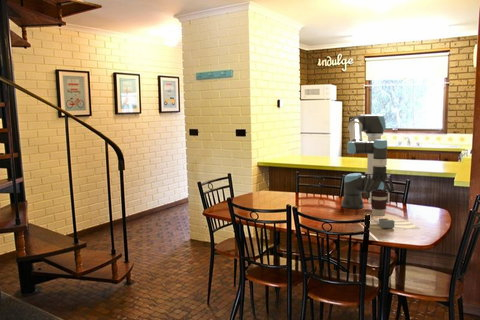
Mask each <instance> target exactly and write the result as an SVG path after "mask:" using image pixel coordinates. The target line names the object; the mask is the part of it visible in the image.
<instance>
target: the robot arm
mask: <svg viewBox="0 0 480 320" xmlns="http://www.w3.org/2000/svg"><path fill="white" fill-rule="evenodd" d="M347 124H348V125H347V129H348V131H349V141H348V142H347V145H346V152H347V153H348V154H351V155H355V154H356V155H357V154H358V155H359V154H364V155H365V154H367V160H366V161H367V166H366V167H367V168H366V171H365V172H364V175H363V174H362V173H360V172H354V173H349V174H346V175H345V176H344V181H343V183H344V184H343V185H344V188H343V189H344V191H343V192H344V194H343V195H344V196H343V198H342V201H341V207H342V208H345V209H351V210H352V209H354V210H357V209H363V208H364V204H365V203H364V200H363V197H362V193H366V198H368V203H369V204H370V205H371V192H372V191H373V190H374V189H382V190H384V186H385V189H386V190H387V191H386V192H387V193H388V196H387V204H390V198H391V197H392V193H393V192H395V187H394V184H393V183H394V182H393V179H392V178H393V177H392V176H393V175H392V174H390V173H389V174H387V160H388V159H387V158H388V140H387V139H382V136H383V135H384V132H386V129H387V128H386V119H385V115H384V114H379V113H378V114H377V113H376V114H357V115H355V116H353V117H352V118H351V119H350V120H349V121H348V123H347ZM362 132H365V135H366V136H367V141H366V140H365V141H363V133H362ZM386 179H387V180H386ZM387 181H388V182H387Z"/></svg>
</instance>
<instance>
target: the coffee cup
mask: <svg viewBox="0 0 480 320" xmlns="http://www.w3.org/2000/svg"><path fill="white" fill-rule="evenodd" d="M387 192H388V191H386V190H385V189H383V190H382V189H374V190H373V191H372V192H371V204H370V205H371V215H372V216H374V217H384V216H386V209H387V204H388V203H387V196H388V193H387Z"/></svg>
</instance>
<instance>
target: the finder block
mask: <svg viewBox="0 0 480 320" xmlns="http://www.w3.org/2000/svg"><path fill="white" fill-rule="evenodd" d="M378 220H379V226H380V227H381V228H383V229H385V228H391V229H390V230H393V229H392V228H394V223H395V221H394V220H395V219H392V218H391V217H388V218H387V217H386V218H379V219H378Z"/></svg>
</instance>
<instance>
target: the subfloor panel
mask: <svg viewBox="0 0 480 320" xmlns="http://www.w3.org/2000/svg"><path fill="white" fill-rule="evenodd" d="M393 220H394V221H395V223H394V228H392V229H391V228H385V229H383V228H381V227H380V226H379V219H378V220H376V219H375V220H374V219H373V220H370V221H371V223H370V229H369V231H378V230H381V231H382V230H385V231H386V230H389V231H390V230H420V227H418V226H416V225H415V224H414V223H412V222H411V221H409V220H407V219H393ZM360 224H361V225H362V226H363V227H364V226H365V224H364V223H362V222H360Z"/></svg>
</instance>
